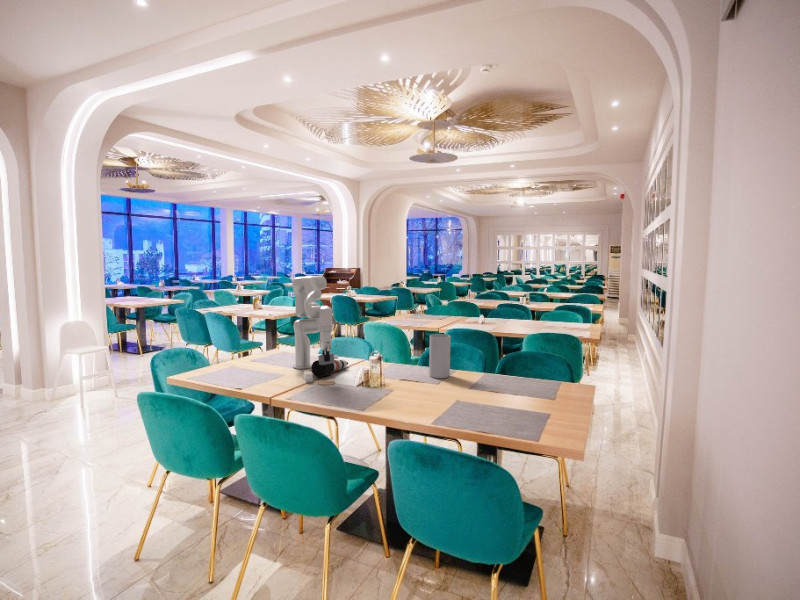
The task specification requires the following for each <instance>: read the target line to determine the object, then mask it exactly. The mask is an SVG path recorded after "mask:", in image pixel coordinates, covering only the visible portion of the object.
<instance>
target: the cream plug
mask: <svg viewBox="0 0 800 600" xmlns="http://www.w3.org/2000/svg"><path fill="white" fill-rule="evenodd" d="M313 376H314V375H313V373H312V370H309V369H307V370H303V381H304V382H305V383H312V382H314V380H313V379H314V377H313Z"/></svg>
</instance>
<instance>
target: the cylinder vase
mask: <svg viewBox="0 0 800 600" xmlns="http://www.w3.org/2000/svg"><path fill="white" fill-rule="evenodd" d="M428 357H429V359H428V360H429V365H428V368H429V369H428V371H429V372H428V374H429V377H430V376H431V377H430V378H433V379H447V377H448V378H450V375H451V372H450V371H451V335H449V334H445V333H444V334H442V333H434V334H430V335H429V355H428Z"/></svg>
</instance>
